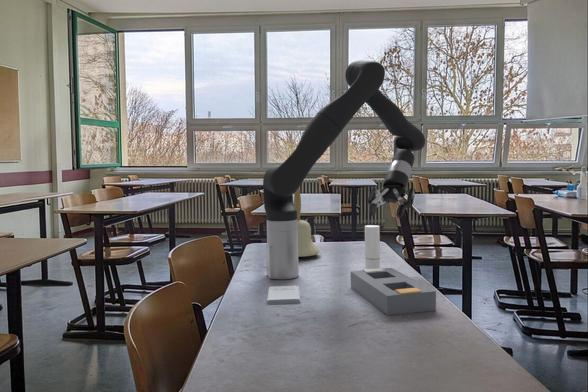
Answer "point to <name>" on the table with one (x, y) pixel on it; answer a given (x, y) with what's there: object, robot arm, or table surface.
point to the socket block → (393, 291)
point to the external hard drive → (283, 294)
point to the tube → (372, 246)
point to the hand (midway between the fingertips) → (385, 215)
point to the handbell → (303, 231)
